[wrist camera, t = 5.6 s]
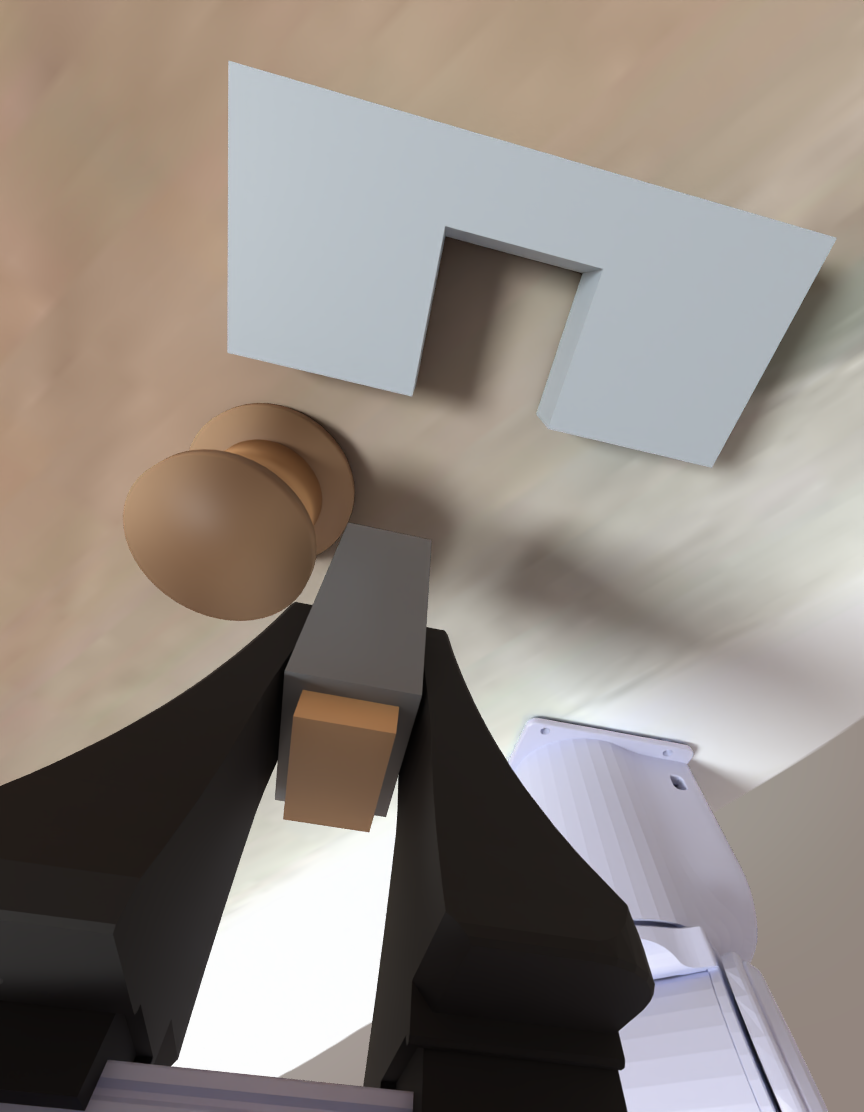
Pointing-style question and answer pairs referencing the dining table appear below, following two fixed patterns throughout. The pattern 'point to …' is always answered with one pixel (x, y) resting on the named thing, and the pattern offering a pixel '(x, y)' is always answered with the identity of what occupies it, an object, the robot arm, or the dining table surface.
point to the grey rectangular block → (355, 681)
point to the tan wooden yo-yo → (241, 512)
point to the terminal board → (509, 226)
